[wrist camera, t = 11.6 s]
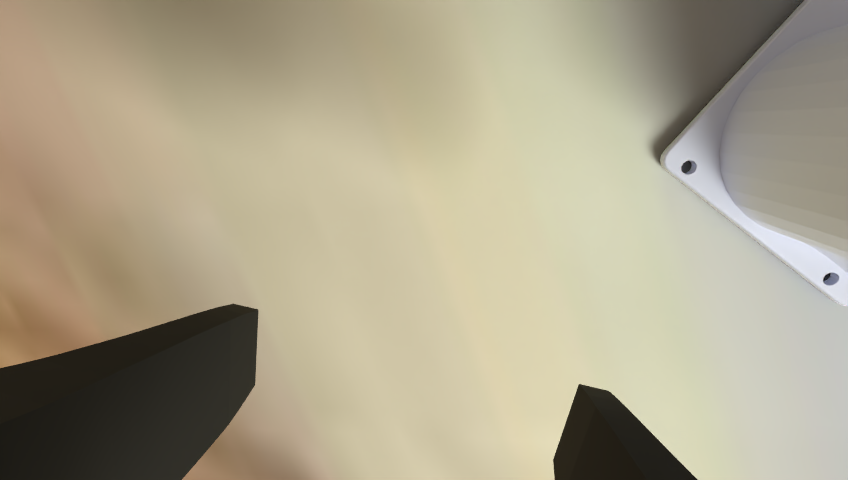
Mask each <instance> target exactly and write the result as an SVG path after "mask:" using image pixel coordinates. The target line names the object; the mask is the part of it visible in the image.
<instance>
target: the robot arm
mask: <svg viewBox="0 0 848 480" xmlns="http://www.w3.org/2000/svg"><path fill="white" fill-rule="evenodd" d="M686 161H690V162H691V164H692V166H691V169H690V171H688V172H687V173H683V172H682V171H681V166H682V165H683V163H684V162H686ZM660 162H661V166H662V167H663V168H664V169H665V170H666V171H667V172H668V173H670V174H671V175H672V176H674V177H675V178H676V179H677V180H679V181H680V182H681V183H682V184H684V185H685V186H686V187H688V188H689V189H690V190H691V191H693V192H694V193H695V194H697V195H698V196H699V197H700V198H702V199H703V200H704V201H705V202H707V203H708V204H709V205H711V206H712V207H713V208H714V209H716V210H717V211H718V212H720V213H721V214H722V215H723V216H725V217H726V218H727V219H728V220H730V221H731V222H732V223H734V224H735V225H736V226H737V227H739V228H740V229H741V230H743V231H744V232H745V233H746V234H748V235H749V236H750V237H751V238H753V239H754V240H755V241H757V242H758V243H759V244H760V245H762V246H763V247H764V248H766V249H767V250H768V251H769V252H771V253H772V254H773V255H774V256H776V257H777V258H778V259H780V260H781V261H782V262H783V263H785V264H786V265H787V266H789V267H790V268H791V269H792V270H794V271H795V272H796V273H797V274H799V275H800V276H801V277H803V278H804V279H805V280H806V281H808V282H809V283H810V284H812V285H813V286H814V287H815V288H817V289H818V290H819V291H820V292H822V293H823V294H824V295H826V296H827V297H828V298H829V299H831V300H832V301H834V302H836V303H838V304H840V305H842V306H848V0H804V1H803V2H802V3H801V4H800V5H799V6H798V8H797V9H796V10H795V11H794V12H793V13H792V14H791V15H790V16H789V17H788V18H787V19H786V20H785V22H784V23H783V24H782V25H781V26H780V27H779V28H778V29H777V30H776V31H775V32H774V33H773V34H772V35H771V37H770V38H769V39H768V40H767V41H766V42H765V43H764V44H763V45H762V46H761V47H760V48H759V49H758V50H757V52H756V53H755V54H754V55H753V56H752V57H751V58H750V59H749V60H748V61H747V62H746V63H745V64H744V66H743V67H742V68H741V69H740V70H739V71H738V72H737V73H736V74H735V75H734V76H733V77H732V78H731V79H730V81H729V82H728V83H727V84H726V85H725V86H724V87H723V88H722V89H721V90H720V91H719V92H718V93H717V94H716V96H715V97H714V98H713V99H712V100H711V101H710V102H709V103H708V104H707V105H706V106H705V107H704V108H703V110H702V111H701V112H700V113H699V114H698V115H697V116H696V117H695V118H694V119H693V120H692V121H691V122H690V123H689V125H688V126H687V127H686V128H685V129H684V130H683V131H682V132H681V133H680V134H679V135H678V136H677V137H676V138H675V140H674V141H673V142H672V143H671V144H670V145H669V146H668V147H667V148H666V149H665V150H664V152H663V153H662V155H661V158H660ZM828 273H830V277H829V278H828V279H827V280H825V281H823V278H824V276H825V275H826V274H828ZM257 328H258V309H253V308H249V307H245V306H240V305H236V304H231V305H226V306H222V307H218V308H214V309H210V310H207V311H203V312H200V313H197V314H193V315H190V316H187V317H184V318H180V319H177V320H174V321H171V322H168V323H164V324H161V325H158V326H155V327H152V328H148V329H145V330H142V331H139V332H135V333H132V334H129V335H126V336H122V337H118V338H115V339H111V340H108V341H104V342H101V343H97V344H94V345H90V346H87V347H83V348H79V349H76V350H72V351H69V352H65V353H62V354H58V355H54V356H50V357H46V358H42V359H38V360H34V361H30V362H26V363H22V364H17V365H13V366H8V367H4V368H0V480H182V479H183V478H184V476H185V475H186V474H187V473H188V472H189V471H190V469H191V468H192V467H193V466H194V465H195V464H196V463H197V461H198V460H199V459H200V458H201V457H202V456H203V454H204V453H205V452H206V451H207V450H208V448H209V447H210V446H211V445H212V444H213V443H214V441H215V440H216V439H217V438H218V437H219V436H220V434H221V433H222V432H223V431H224V429H225V428H226V427H227V426H228V425H229V423H230V422H231V420H232V419H233V417H234V416H235V415H236V413H237V412H238V410H239V409H240V407H241V406H242V404H243V403H244V401H245V400H246V398H247V396H248V395H249V393H250V392H251V390H252V389H253V387H254V386H255V374H256V351H257ZM553 462H554V475H555V480H697V479H696V478H695V477H694V476H693V475H692V474H691V473H690V472H689V471H688V470H687V469H686V468H685V467H684V466H683V465H682V464H681V463H680V462H679V461H678V460H677V459H676V458H675V457H674V456H673V455H672V454H671V453H670V452H669V451H668V450H667V449H666V448H665V446H664V445H663V444H662V443H661V442H660V441H659V440H658V439H657V438H656V437H655V436H654V435H653V434H652V433H651V432H650V431H649V430H648V429H647V428H646V427H645V426H644V425H643V424H642V423H641V422H640V421H639V420H638V419H637V418H636V417H635V416H634V415H633V414H632V413H631V412H630V411H629V410H628V409H627V408H626V407H625V406H624V405H623V404H622V403H621V402H620V401H619V400H618V399H617V398H616V397H615V396H614V395H613V394H612V393H610V392H609V391H607V390H602V389H598V388H594V387H589V386H585V385H581V384H579V386H578V389H577V392H576V394H575V397H574V400H573V403H572V406H571V409H570V412H569V415H568V418H567V421H566V424H565V427H564V430H563V433H562V436H561V439H560V442H559V445H558V448H557V450H556V453H555V456H554V459H553Z"/></svg>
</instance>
